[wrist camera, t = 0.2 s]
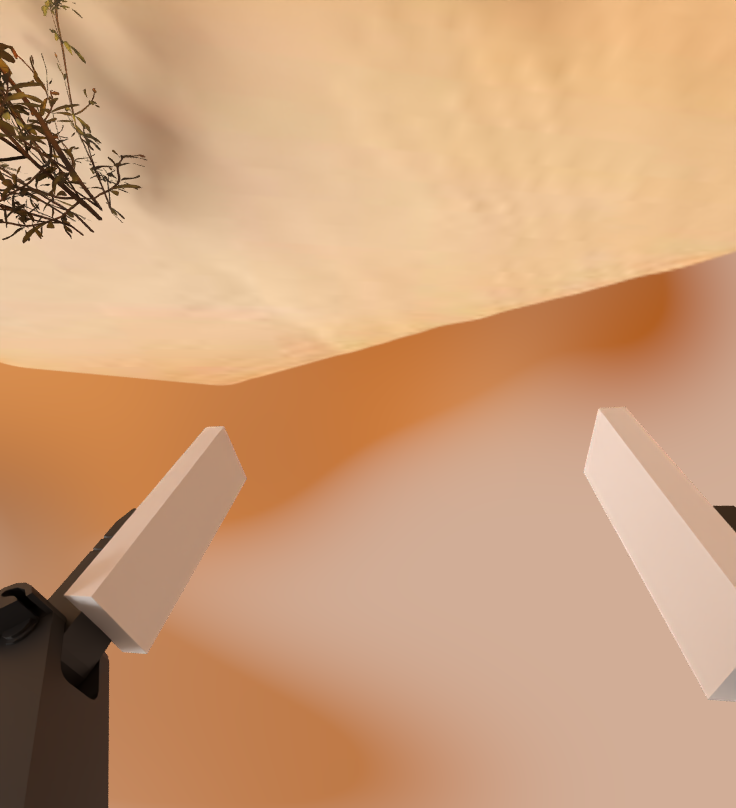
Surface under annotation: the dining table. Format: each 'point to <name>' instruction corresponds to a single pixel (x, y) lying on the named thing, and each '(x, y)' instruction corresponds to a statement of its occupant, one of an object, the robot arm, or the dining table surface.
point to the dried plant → (9, 131)
